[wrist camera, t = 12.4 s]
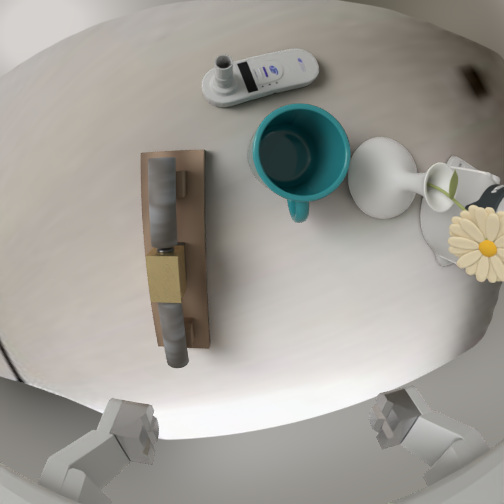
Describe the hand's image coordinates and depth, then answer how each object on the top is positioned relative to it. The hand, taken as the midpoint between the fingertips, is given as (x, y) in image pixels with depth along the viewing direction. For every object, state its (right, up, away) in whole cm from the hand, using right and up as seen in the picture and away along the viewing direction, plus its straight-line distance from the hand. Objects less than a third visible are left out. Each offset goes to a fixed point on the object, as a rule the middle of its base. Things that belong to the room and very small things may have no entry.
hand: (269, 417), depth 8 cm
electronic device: (0, +28, +22) cm, 36 cm away
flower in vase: (+17, +15, +27) cm, 36 cm away
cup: (+3, +17, +26) cm, 31 cm away
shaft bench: (-11, +5, +28) cm, 31 cm away
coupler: (-10, +4, +25) cm, 27 cm away
